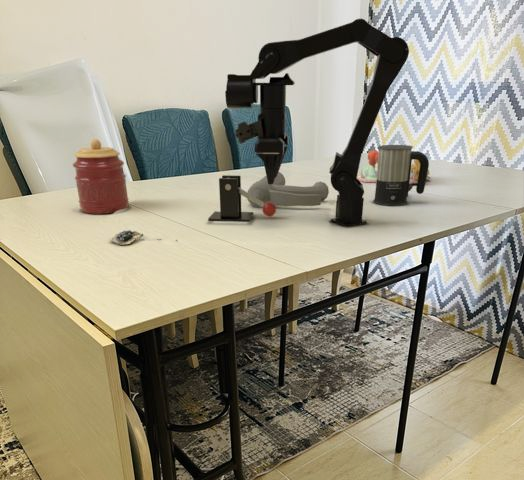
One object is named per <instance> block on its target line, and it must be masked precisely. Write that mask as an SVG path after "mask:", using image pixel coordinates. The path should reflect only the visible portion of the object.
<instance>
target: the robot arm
mask: <svg viewBox="0 0 524 480" xmlns="http://www.w3.org/2000/svg"><path fill="white" fill-rule="evenodd" d="M354 43H356V44H358V45H360V46H362V47H363V48H364V49H366V50H367V51H368V52H370V53H371V54H372V55H374V56H376V62H375V66H374V70H373V75H372V81H371V83H370V86H369V89H368V92H367V95H366V97H365V99H364V102H363V105H362V107H361V109H360V112H359V115H358V117H357V119H356V122H355V125H354V127H353V130H352V131H351V134H350V137H349V140H348V141H347V144H346V147H345V148H344V150H343V151H342V153H339V152H338V151H336V152H335V155H334V160H333V163H332V164H331V166H330V167H329V174H330V184H331V187H332V188H333V189H334V190H335V191H336V192H338V194H337V195H336V202H335V218H330V222H332V223H335V224H338V225H340V226H342V227H350V226H351V227H353V226H357V225H364V224H367V223H368V220H365V219H363V212H364V201H365V197H363V196H364V194H365V190H364V186H363V184H362V181H359V180H358V179H357V176H358V175H359V174H358V173H359V169H360V164H361V159H362V154H363V152H364V149H365V147H366V144H367V142H368V139H369V137H370V134H371V132H372V131H373V130H372V129H373V127H374V125H375V122H376V120H377V117H378V115H379V112H380V111H381V108H382V105H383V103H384V101H385V98H386V96H387V94H388V91H389V89H390V88H391V86H392V84H393V83H394V81H395V79H396V78H397V77H398V75H399V74H400V72H401V70H402V69H403V67H404V65H405V64H406V62H407V60H408V58H409V54H410V49H409V44H408V43H407V41H406V40H405V39H404V38H402V37H399V36H393V37H390V36H389V35H387V34H386V33H385V32H383V31H381V30H379V29H378V28H377V27H375V26H373V25H371V24H370V23H368V21H367V20H366V19H364V18H357V19H354V20H353V21H352V22H351V21H350V22H348V23H345V24H343V25H339V26H336V27H333V28H330V29H327V30H324V31H321V32H319V33H318V32H317V33H315V34H312V35H309V36H306V37H303V38H300V39H299V38H298V39H292V40H290V39H289V40H281V41H271V42H268V43H265V44H264V45H263V46H262V47H261V49H260V50H259V52H258V59H257V60H258V61H257V63H256V65H255V67H254V68H253V69H252V70H251V72H250V74H240V75H239V74H235V73H229V74H227V75H226V77H227V78H226V79H227V80H226V85H225V91H224V93H225V105H226V107H227V109H253V108H254V104H258V103H259V113H258V115H257V120H255V121H253V122H251V123H248V122H247V121H242V122H240V123H238V124H237V128H236V129H235V130H234V131H235V138H236V139H237V141H238V143H239V145H242V144H244V143H246V142H247V141H250V140H252V139H254V138H256V137H257V140H256V141H255V142H254V153H255V155H256V156H257V157H258V158H259V159H260V160H261V161H262V162H263V167H264V170H265V176H267V180H268V184H273V183H274V180H275V178H276V177H277V175H278V172H280V169H281V166H282V164H283V160H284V158H285V155H286V152H287V150H288V147H289V141H290V139H289V138H290V137H289V134H288V133H287V132H286V119H287V112H286V111H287V110H286V109H287V107H286V105H287V103H286V102H287V86H294V85H296V83H295V81H294V80H293V78H292V77H291V76H290V75H289V73H288V72H286V73H284V75H283V76H270V77H269V82H257V80H263V79H266V78H267V77H268V76H269V75H276V74H280V73H282V72H283V71H285V70H288V69H289V68H291V67H293V66H295V65H296V64H298V63H300V62H301V61H303V60H305V59H308V58H311V57H314V56H317V55H320V54H324V53H326V52H330V51H332V50H333V51H334V50H336V49H339V48H342V47H345V46H348V45H351V44H354Z"/></svg>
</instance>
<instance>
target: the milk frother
mask: <svg viewBox="0 0 524 480" xmlns="http://www.w3.org/2000/svg"><path fill="white" fill-rule="evenodd" d="M413 148H414V146H413V145H408V144H383V145H382V144H381V145H378V146H377V151H378V152H379V157H378V164H377V166H378V167H377V169H376V171H377V181H376V182H375V183H376V184H375V191H374V198H373V203H374V204H377V205H383V206H401V205H405V204H407V203H408V199H407V198H408V197H409V193H410V192H411V190H412V189H413V188H414V187H413V183H411V184H409V182H410V172H411V165H412V163H413V162H412V161H414V159H416V160H419V162H420V170H419V176H418V181H417V183H416V188H415V190H416V193H417V194H418V195H422V194H424V191H425V187H426V183H427V180H426V178H427V172H428V170H429V167H430V161H429V159H428V157H427V155H426V154H425V153H423V152H421V151H415V150H412V149H413Z"/></svg>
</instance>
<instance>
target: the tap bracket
mask: <svg viewBox="0 0 524 480" xmlns="http://www.w3.org/2000/svg"><path fill="white" fill-rule="evenodd" d="M227 177H230V178H227ZM238 187H239V188H241V189H242V177H241V175H237V174H236V175H234V174H233V175H231V174H229V175H226V174H225V175H224V174H223V175H221V177H219V178H218V189H219V209H220V210H219V211H216V210H215V211H214V212H213V213H212V214H211V215H210V216H209V217H208V220H207V221H208V222H234V223H235V222H237V223H240V222H241V223H249V222H250V221H251V219H252V218H253V216H254V211H242V195H241V194H239V193H238Z"/></svg>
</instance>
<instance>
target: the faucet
mask: <svg viewBox="0 0 524 480" xmlns="http://www.w3.org/2000/svg"><path fill="white" fill-rule="evenodd" d="M247 193H249V194H251V195H252V196H254V197H255V198H257V199H259V200H260V201H262V202H264V203H266V202H272V203H274V204H275V206H280V207H316V206H321V205H322V202H324V201H325V200H326V199H327V198H328V197H329V194H330V191H329V186H328V185H327V183H326V182H323V181H317V182H315V183H314V184H313V185H311V186H310V185H309V186H299V185H286V178H285V176H284V174H283V173H281V171H279V172H278V175H277V177H276V178H275V180H274V183H273V184H268V180H267V176H266V175H265V176H263V177H262V178H261V179H259V180H257V181H255V182H254V183H252V185H250V186H249V188H248V190H247ZM247 201H248V203H249V205H251V206H252V207H253V208H261V207H260V206H259V205H257V204H255V203H254V202H252V201H251V200H249V199H247Z"/></svg>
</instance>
